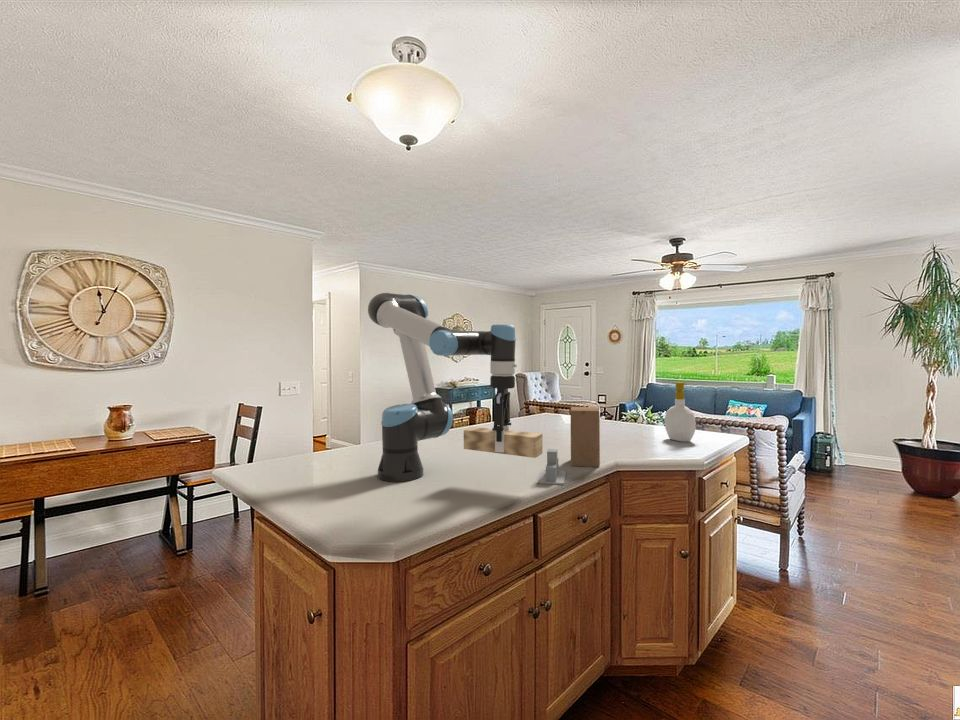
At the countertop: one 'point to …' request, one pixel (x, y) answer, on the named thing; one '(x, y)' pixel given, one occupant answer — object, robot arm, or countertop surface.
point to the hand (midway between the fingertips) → (501, 448)
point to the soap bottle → (680, 418)
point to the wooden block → (585, 436)
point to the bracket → (552, 470)
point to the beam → (513, 442)
